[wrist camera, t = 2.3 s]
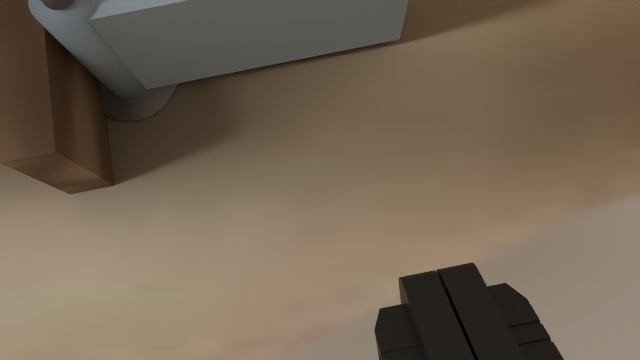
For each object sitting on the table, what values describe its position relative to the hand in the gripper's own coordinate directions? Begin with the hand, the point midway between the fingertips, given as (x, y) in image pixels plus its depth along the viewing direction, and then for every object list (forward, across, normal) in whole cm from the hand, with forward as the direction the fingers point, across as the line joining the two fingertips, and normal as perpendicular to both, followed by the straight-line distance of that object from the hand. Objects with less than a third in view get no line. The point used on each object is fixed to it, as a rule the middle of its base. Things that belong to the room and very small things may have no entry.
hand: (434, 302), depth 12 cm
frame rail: (+22, +11, -1) cm, 25 cm away
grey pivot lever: (+21, +4, +1) cm, 21 cm away
